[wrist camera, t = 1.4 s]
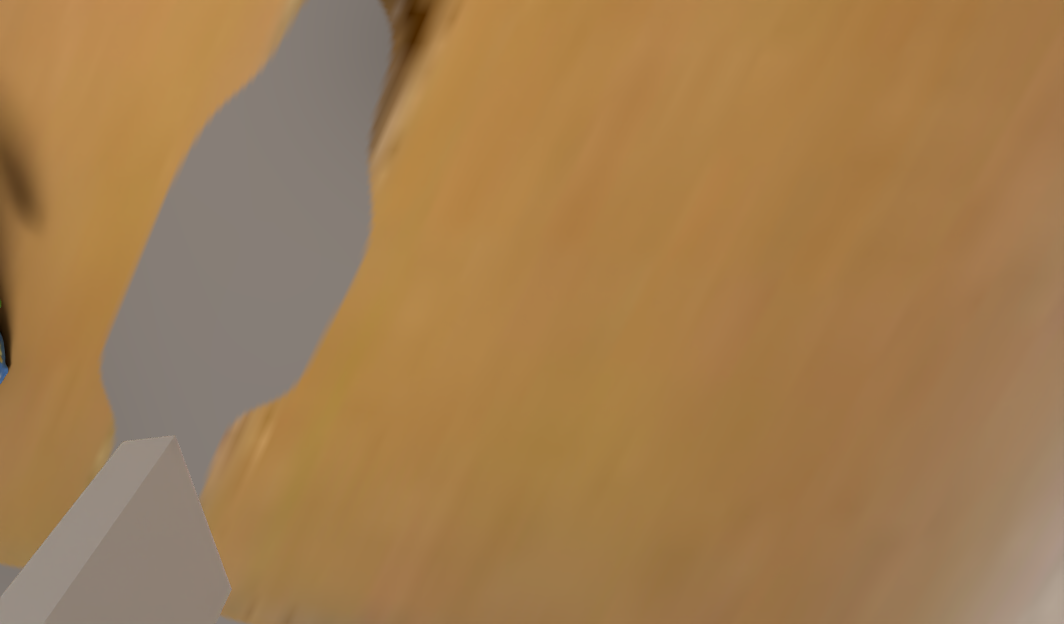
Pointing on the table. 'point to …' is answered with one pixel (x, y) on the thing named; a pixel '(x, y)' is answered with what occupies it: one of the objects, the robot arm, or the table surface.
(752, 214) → the table surface
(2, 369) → the snack cup
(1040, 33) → the table surface
